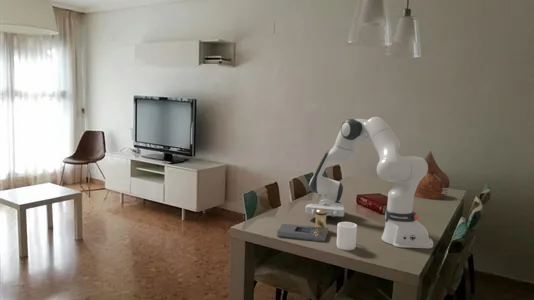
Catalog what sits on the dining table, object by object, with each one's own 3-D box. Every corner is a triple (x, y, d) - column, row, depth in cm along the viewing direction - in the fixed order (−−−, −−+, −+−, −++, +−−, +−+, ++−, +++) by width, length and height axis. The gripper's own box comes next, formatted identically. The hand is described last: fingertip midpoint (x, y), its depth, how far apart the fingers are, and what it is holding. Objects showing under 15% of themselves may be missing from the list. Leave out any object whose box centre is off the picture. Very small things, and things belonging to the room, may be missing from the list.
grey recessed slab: (327, 233, 208) (327, 228, 208) (324, 241, 197) (325, 236, 196) (282, 228, 213) (282, 223, 213) (277, 236, 202) (277, 231, 202)
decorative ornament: (404, 196, 286) (408, 150, 281) (409, 190, 302) (412, 147, 298) (447, 201, 274) (451, 154, 270) (449, 195, 291) (453, 150, 287)
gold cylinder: (326, 228, 215) (327, 209, 214) (325, 232, 210) (326, 212, 208) (315, 227, 216) (316, 208, 215) (314, 231, 211) (314, 210, 210)
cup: (334, 248, 188) (335, 226, 187) (340, 240, 199) (341, 218, 198) (353, 251, 185) (354, 228, 184) (359, 242, 196) (360, 221, 195)
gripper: (307, 199, 236) (303, 206, 223) (345, 203, 231) (343, 209, 218) (307, 211, 237) (302, 218, 224) (345, 214, 232) (343, 222, 219)
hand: (323, 214), depth 221 cm, fingers open, 8 cm apart
